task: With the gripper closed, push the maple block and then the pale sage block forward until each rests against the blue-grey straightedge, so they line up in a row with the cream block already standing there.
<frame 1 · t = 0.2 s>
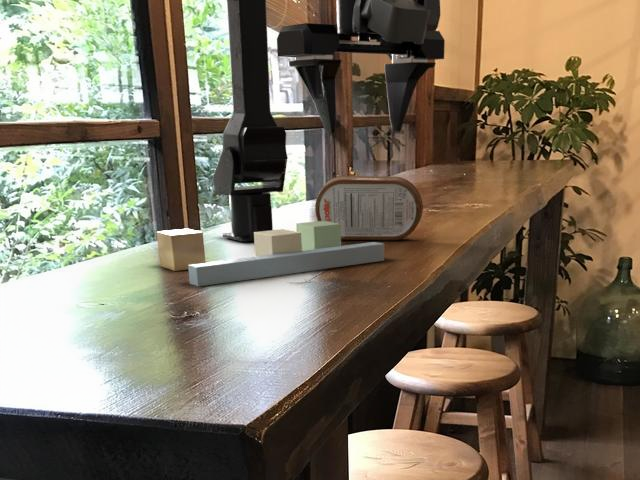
hand: (364, 132, 90), 14 cm above the table, tool pointing down, fingers open, 9 cm apart
sage block: (319, 256, 101), on the table
cream block: (279, 267, 95), on the table
tin: (368, 241, 114), on the table
maple block: (183, 266, 96), on the table
straightedge: (293, 271, 92), on the table
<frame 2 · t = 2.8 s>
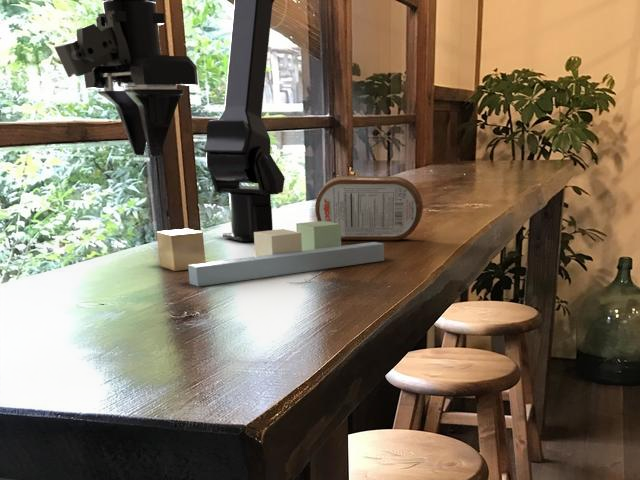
hand: (147, 155, 96), 12 cm above the table, tool pointing down, fingers open, 4 cm apart
nothing on the table moved.
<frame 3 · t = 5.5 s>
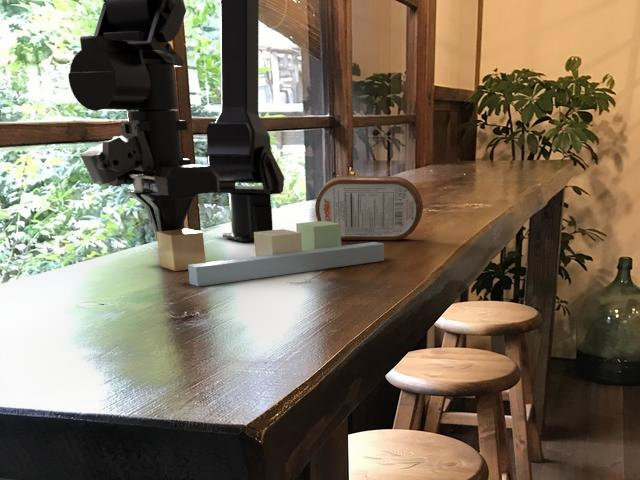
hand: (168, 252, 98), 1 cm above the table, tool pointing down, fingers closed
maple block: (183, 266, 96), on the table, touching gripper
everything else where it was.
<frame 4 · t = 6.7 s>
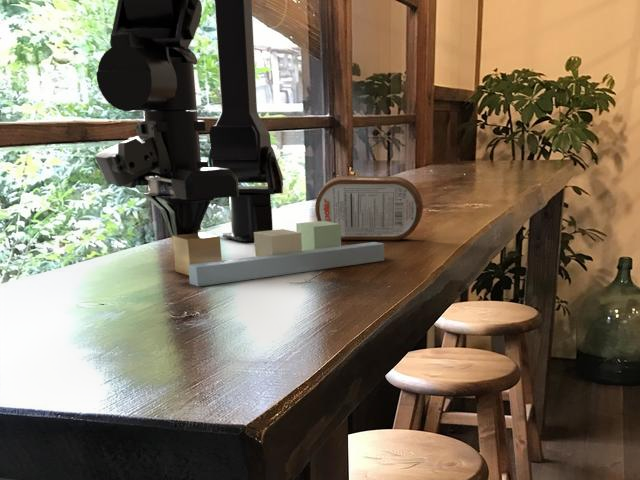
hand: (183, 257, 95), 1 cm above the table, tool pointing down, fingers closed
maple block: (199, 272, 93), on the table, touching gripper
everything else where it was.
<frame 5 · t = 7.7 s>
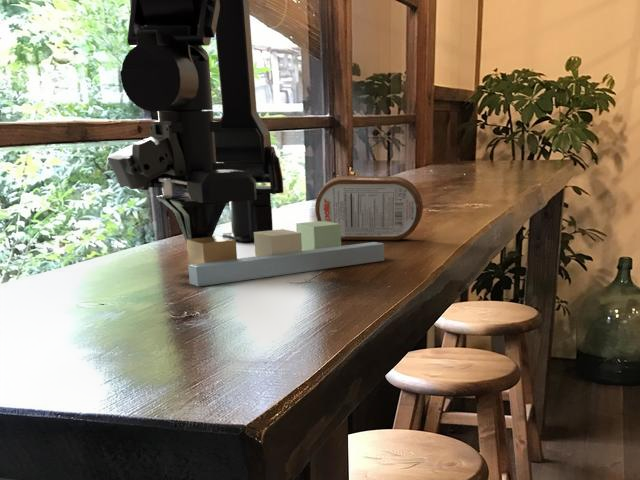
hand: (198, 261, 92), 1 cm above the table, tool pointing down, fingers closed
maple block: (214, 276, 90), on the table, touching gripper, straightedge
everything else where it was.
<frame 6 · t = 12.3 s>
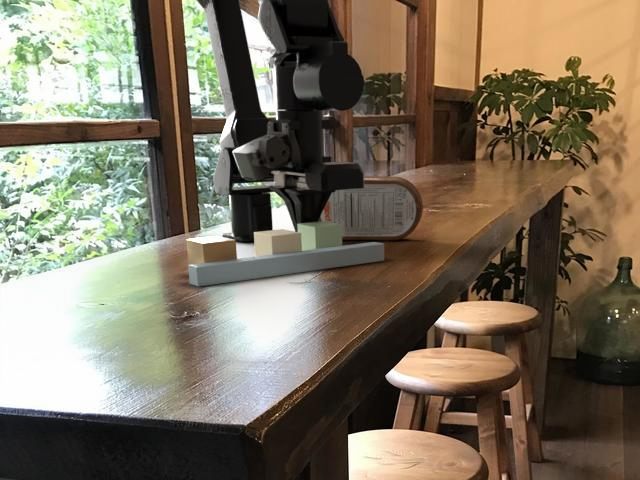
hand: (304, 244, 103), 1 cm above the table, tool pointing down, fingers closed
sage block: (320, 257, 101), on the table, touching gripper
maple block: (214, 276, 90), on the table
everything else where it was.
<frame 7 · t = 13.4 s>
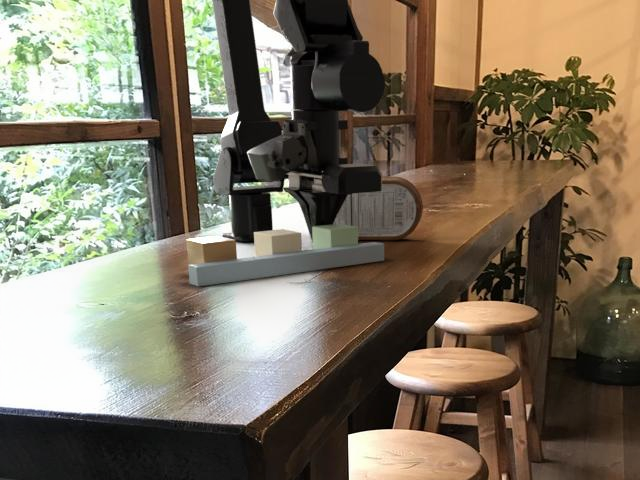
hand: (318, 247, 101), 1 cm above the table, tool pointing down, fingers closed
sage block: (335, 260, 99), on the table, touching gripper, straightedge
everything else where it was.
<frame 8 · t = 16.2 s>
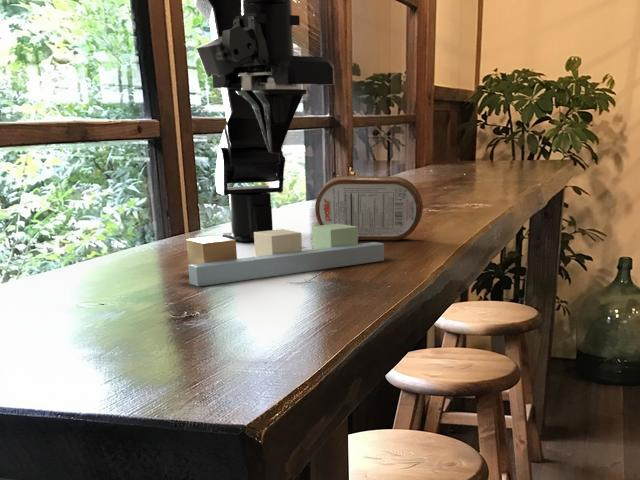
hand: (274, 153, 99), 12 cm above the table, tool pointing down, fingers closed
sage block: (335, 260, 99), on the table
everything else where it was.
at the end: maple block 0.4 cm from the target spot on the table beside the cream block, on the table; sage block 0.3 cm from the target spot on the table beside the cream block, on the table; cream block moved 0.0 cm from its start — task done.
